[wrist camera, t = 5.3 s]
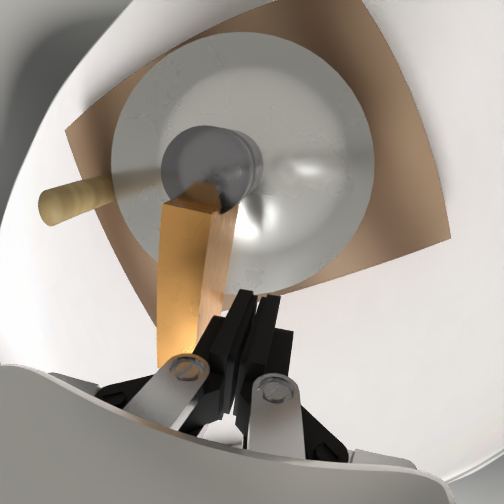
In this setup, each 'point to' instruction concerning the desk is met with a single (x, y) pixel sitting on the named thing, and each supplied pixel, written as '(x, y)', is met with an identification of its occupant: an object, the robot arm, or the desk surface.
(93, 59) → the desk surface
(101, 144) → the board
